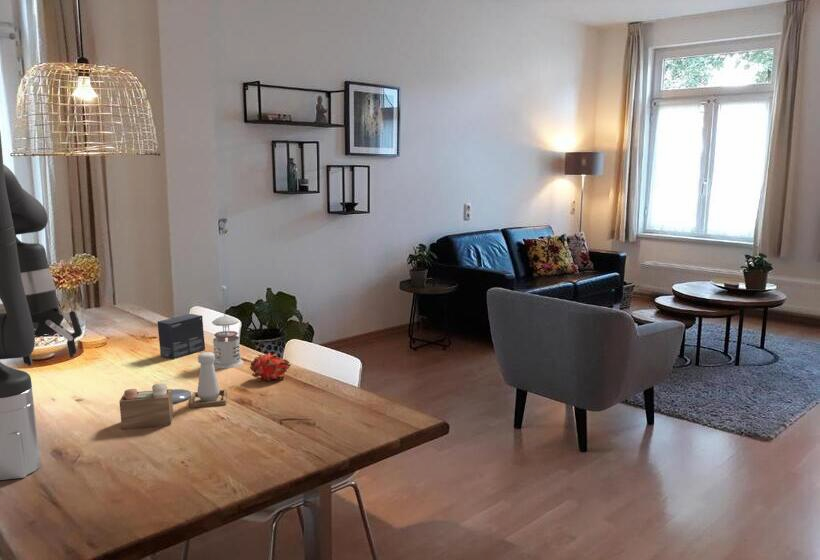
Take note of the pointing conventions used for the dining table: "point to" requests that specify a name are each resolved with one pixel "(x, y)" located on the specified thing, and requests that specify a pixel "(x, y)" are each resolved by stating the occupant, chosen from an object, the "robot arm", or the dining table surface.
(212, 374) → the salt shaker
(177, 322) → the small box
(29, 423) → the robot arm
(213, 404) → the holder
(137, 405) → the caddy
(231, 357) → the french press
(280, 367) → the dragon fruit
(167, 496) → the dining table surface
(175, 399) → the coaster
